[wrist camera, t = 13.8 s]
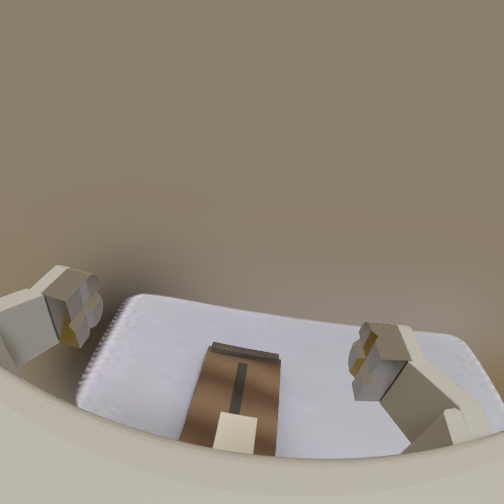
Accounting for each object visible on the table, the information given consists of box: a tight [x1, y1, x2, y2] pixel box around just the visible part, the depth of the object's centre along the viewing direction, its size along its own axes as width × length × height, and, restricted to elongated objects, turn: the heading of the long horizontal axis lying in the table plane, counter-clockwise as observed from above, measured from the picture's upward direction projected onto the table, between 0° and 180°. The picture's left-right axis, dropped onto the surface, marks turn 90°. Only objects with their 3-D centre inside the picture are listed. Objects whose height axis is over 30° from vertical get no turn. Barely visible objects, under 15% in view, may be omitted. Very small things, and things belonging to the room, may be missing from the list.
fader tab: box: [213, 412, 257, 454], centre depth 18 cm, size 6×6×12 cm
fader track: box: [180, 342, 281, 457], centre depth 26 cm, size 28×10×3 cm, turn 174°
